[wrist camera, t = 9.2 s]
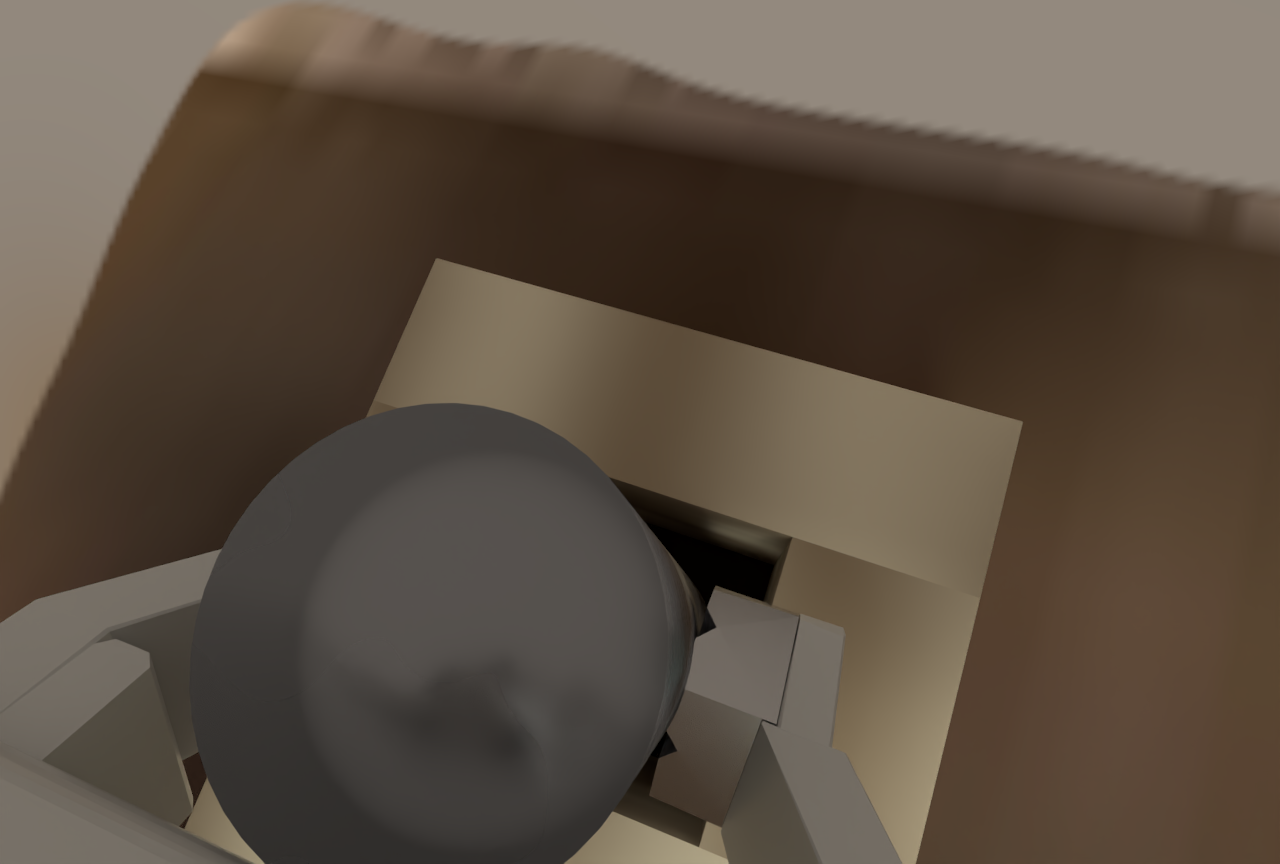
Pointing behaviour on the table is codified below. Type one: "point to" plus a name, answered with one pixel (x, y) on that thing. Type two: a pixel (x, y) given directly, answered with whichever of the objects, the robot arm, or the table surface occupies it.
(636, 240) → the table surface
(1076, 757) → the table surface
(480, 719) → the steel pin
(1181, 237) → the table surface
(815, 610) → the birch block
